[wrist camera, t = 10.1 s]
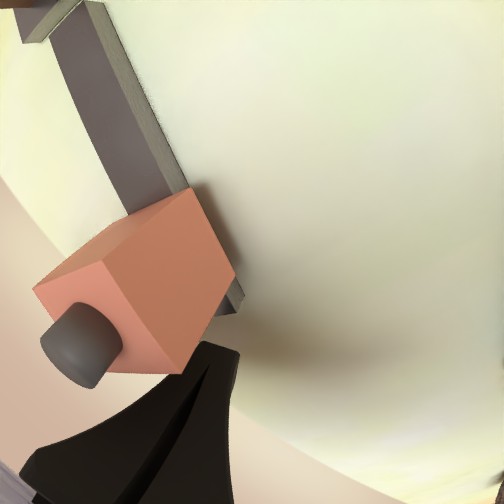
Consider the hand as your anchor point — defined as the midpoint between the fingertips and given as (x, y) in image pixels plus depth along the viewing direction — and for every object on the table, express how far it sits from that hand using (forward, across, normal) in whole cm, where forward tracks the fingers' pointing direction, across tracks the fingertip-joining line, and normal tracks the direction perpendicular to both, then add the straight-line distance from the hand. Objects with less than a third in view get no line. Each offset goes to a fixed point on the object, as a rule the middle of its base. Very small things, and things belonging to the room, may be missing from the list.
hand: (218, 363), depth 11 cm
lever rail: (+2, +4, -6) cm, 8 cm away
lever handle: (+1, +2, -4) cm, 4 cm away
